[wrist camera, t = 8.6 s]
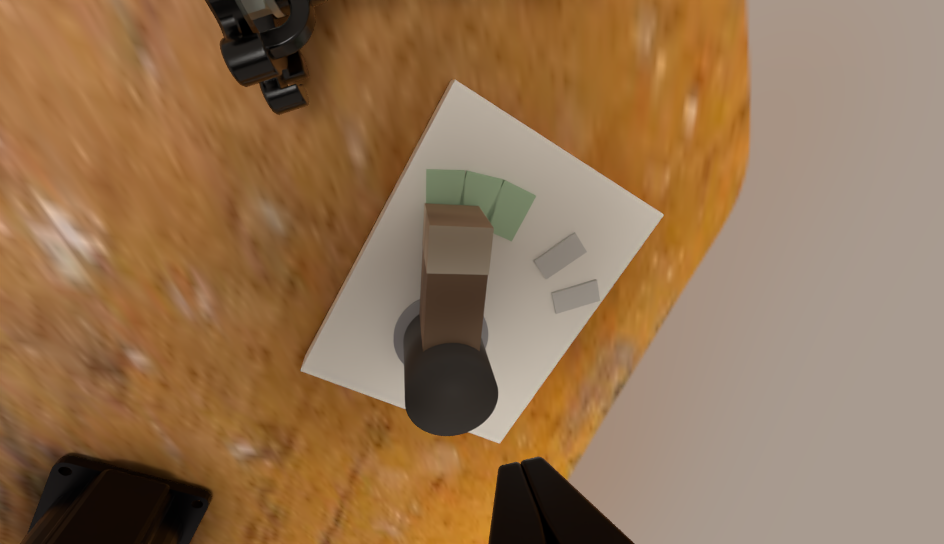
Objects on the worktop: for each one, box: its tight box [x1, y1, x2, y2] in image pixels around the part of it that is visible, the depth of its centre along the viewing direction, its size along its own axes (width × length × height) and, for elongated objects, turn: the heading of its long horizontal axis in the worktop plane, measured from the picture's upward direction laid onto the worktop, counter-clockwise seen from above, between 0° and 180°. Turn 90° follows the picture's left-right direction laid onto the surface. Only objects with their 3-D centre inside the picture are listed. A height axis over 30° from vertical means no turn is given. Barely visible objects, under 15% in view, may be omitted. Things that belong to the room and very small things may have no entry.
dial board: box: [300, 80, 664, 444], centre depth 19 cm, size 13×10×1 cm
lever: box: [403, 203, 498, 436], centre depth 16 cm, size 7×3×4 cm, turn 175°
